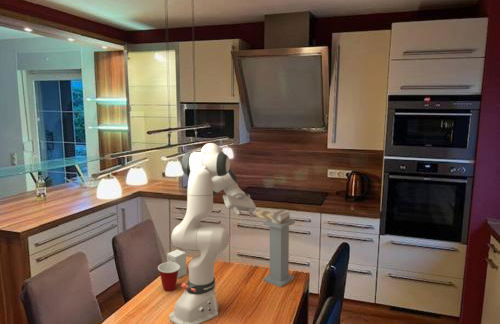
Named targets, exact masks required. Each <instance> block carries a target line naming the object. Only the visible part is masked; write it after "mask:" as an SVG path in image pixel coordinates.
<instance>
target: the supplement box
mask: <svg viewBox="0 0 500 324" xmlns="http://www.w3.org/2000/svg"><path fill="white" fill-rule="evenodd" d="M166 257H167V259H166V261H167V262H174V263H177V264H179V265H180V268H179V271H178V275H177V280H178V279H180V278H182V277H184V276H186V275H187V274H188V273H187V272H188V270H187V252H185V251H182V250H180V249H175V250H172V251H170V252H168V253H166Z"/></svg>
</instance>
